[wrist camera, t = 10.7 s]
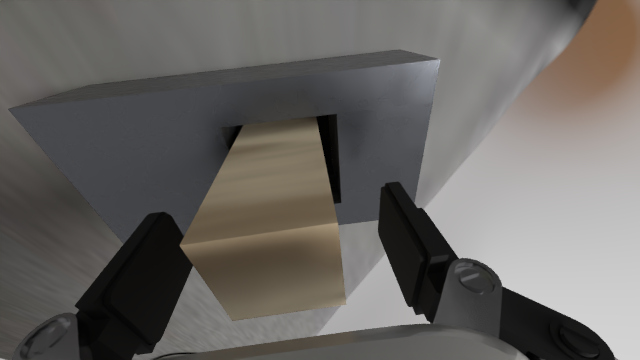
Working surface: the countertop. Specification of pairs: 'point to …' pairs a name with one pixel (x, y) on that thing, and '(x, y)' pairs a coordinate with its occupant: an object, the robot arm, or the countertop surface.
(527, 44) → the countertop surface
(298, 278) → the peg
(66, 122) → the rail
